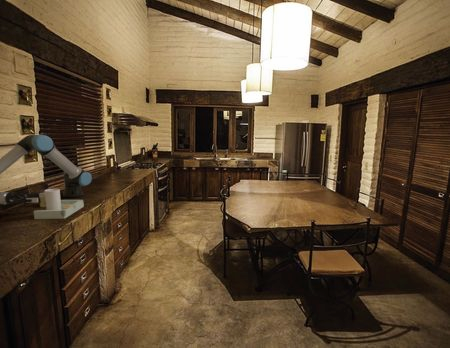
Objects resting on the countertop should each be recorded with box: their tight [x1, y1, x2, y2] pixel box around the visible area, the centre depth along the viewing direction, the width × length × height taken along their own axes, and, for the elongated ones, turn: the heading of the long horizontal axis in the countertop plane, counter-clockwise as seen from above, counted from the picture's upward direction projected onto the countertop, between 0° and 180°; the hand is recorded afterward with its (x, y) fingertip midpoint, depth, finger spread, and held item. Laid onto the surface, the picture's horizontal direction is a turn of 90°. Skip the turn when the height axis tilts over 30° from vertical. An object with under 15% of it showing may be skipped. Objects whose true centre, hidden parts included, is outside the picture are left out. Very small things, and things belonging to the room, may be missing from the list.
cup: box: [44, 188, 62, 210], centre depth 170 cm, size 8×8×16 cm
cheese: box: [39, 191, 46, 208], centre depth 194 cm, size 10×11×10 cm
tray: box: [33, 199, 85, 220], centre depth 177 cm, size 18×28×6 cm, turn 6°
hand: (44, 197), depth 169 cm, fingers open, 13 cm apart
